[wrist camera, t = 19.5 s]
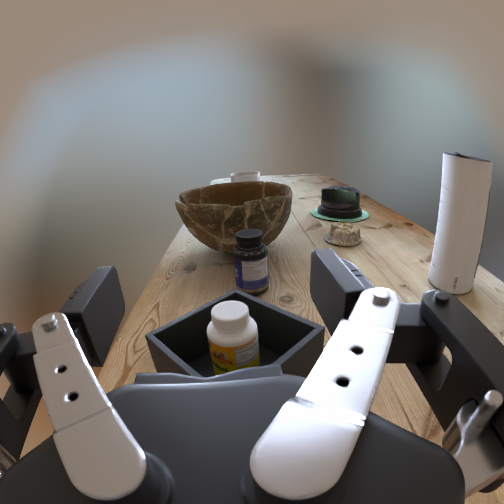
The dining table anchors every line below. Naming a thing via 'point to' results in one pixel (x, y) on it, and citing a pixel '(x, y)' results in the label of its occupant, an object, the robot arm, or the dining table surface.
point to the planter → (245, 176)
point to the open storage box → (269, 339)
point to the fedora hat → (340, 204)
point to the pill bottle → (251, 262)
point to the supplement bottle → (232, 338)
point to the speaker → (460, 222)
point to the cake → (344, 234)
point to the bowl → (235, 211)
